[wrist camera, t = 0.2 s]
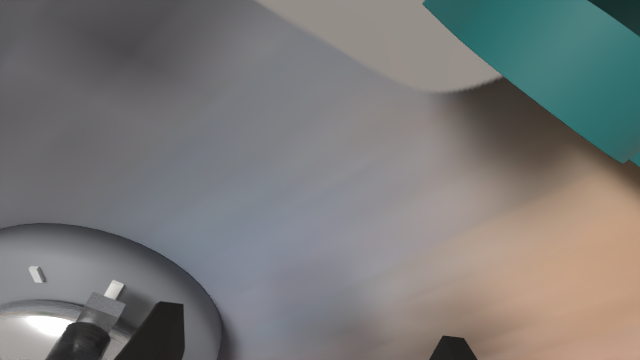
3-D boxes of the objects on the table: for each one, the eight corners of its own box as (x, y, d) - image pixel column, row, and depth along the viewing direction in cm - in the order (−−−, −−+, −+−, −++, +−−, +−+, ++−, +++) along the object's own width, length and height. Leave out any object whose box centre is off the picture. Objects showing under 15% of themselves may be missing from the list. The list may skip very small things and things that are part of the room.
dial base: (228, 393, 32) (221, 429, 29) (11, 381, 31) (-13, 417, 29) (213, 234, 22) (200, 270, 20) (-100, 212, 22) (-150, 247, 19)
